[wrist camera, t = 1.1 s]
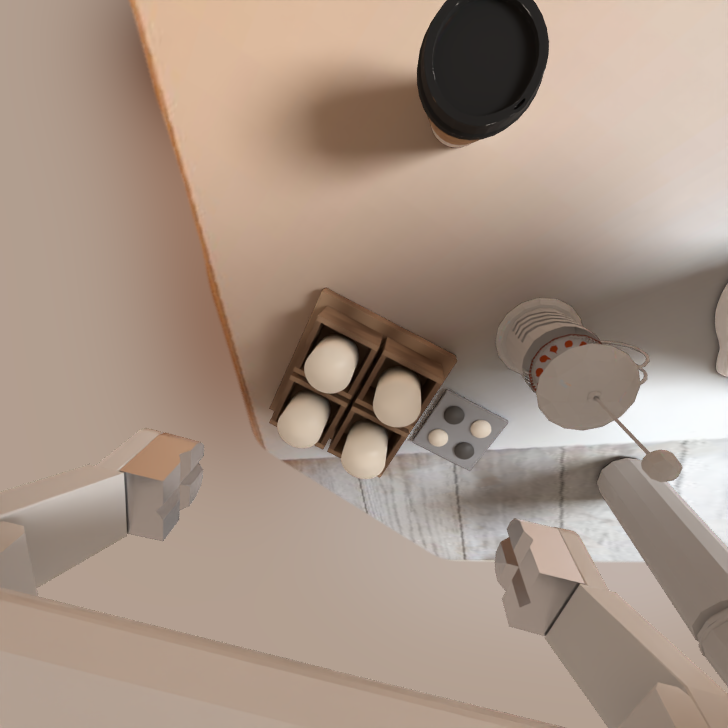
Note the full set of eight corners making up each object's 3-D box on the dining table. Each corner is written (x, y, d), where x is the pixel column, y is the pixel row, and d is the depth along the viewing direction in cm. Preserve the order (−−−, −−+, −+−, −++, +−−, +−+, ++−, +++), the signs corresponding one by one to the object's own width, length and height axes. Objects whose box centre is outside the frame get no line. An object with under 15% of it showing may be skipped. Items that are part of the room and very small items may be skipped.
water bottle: (581, 488, 51) (716, 715, 28) (615, 444, 48) (798, 658, 25) (643, 512, 51) (828, 757, 28) (681, 469, 48) (925, 705, 25)
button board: (455, 355, 46) (461, 376, 40) (388, 458, 53) (384, 489, 47) (325, 287, 45) (311, 299, 39) (274, 401, 52) (256, 426, 46)
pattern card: (507, 420, 49) (508, 423, 48) (469, 468, 52) (470, 472, 51) (447, 389, 48) (447, 392, 47) (412, 439, 52) (412, 443, 51)
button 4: (395, 430, 46) (393, 454, 41) (377, 459, 48) (372, 485, 43) (359, 412, 45) (352, 434, 41) (342, 442, 47) (334, 466, 43)
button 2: (337, 401, 45) (328, 422, 41) (320, 431, 47) (310, 455, 42) (300, 382, 45) (286, 401, 40) (285, 413, 47) (271, 435, 42)
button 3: (428, 378, 42) (430, 398, 38) (407, 411, 44) (406, 434, 40) (389, 358, 42) (386, 376, 38) (370, 393, 44) (364, 414, 40)
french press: (493, 303, 43) (580, 405, 20) (603, 289, 41) (838, 387, 18) (496, 379, 47) (573, 541, 24) (597, 371, 45) (788, 539, 22)
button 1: (366, 346, 42) (360, 363, 37) (347, 381, 44) (339, 401, 39) (326, 326, 42) (315, 340, 37) (309, 362, 44) (297, 379, 39)
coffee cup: (452, 180, 39) (471, 163, 25) (399, 112, 37) (389, 55, 24) (522, 114, 36) (586, 54, 22) (468, 37, 35) (501, -78, 21)
